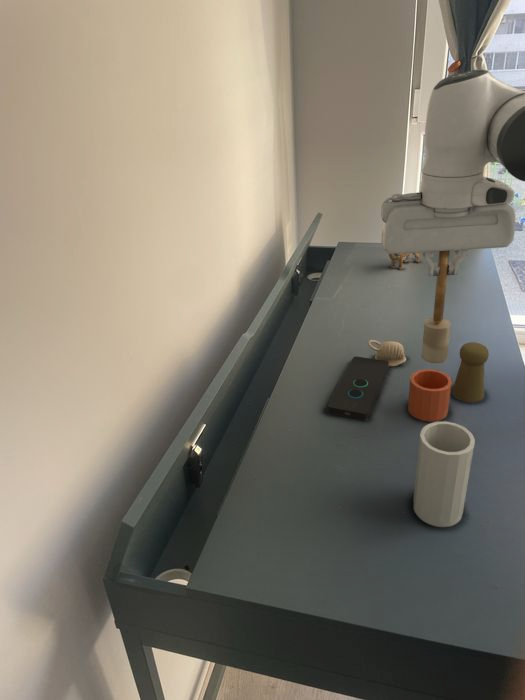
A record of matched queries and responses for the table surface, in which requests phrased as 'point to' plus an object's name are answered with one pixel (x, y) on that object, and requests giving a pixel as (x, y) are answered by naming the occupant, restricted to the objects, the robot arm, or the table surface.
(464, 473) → the white cylindrical cup
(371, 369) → the smart home device
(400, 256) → the lion figurine
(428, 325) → the bottle brush
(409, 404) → the brush holder
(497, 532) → the table surface
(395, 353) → the decorative ornament
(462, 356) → the olive pepper mill
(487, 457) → the table surface
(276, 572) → the table surface
